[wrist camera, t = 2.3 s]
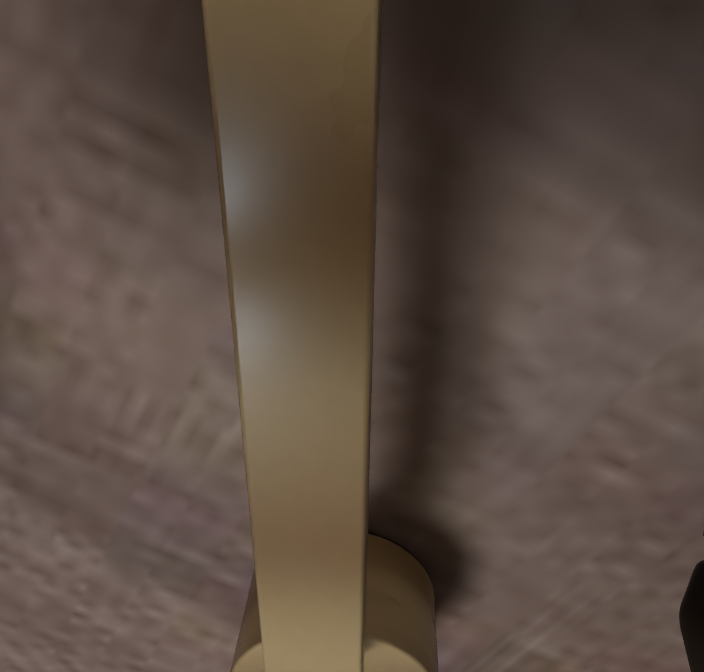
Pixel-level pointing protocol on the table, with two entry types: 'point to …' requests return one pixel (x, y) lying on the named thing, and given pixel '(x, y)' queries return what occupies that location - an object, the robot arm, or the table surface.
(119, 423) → the table surface
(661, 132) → the table surface
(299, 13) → the ladle
